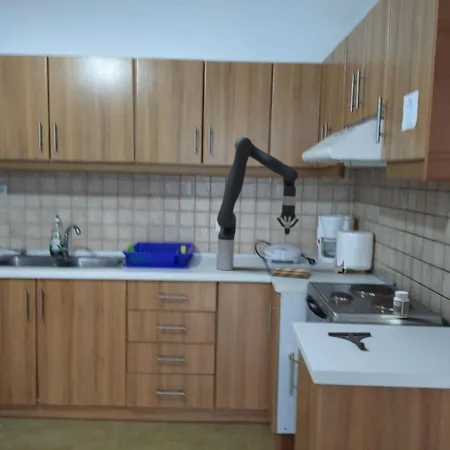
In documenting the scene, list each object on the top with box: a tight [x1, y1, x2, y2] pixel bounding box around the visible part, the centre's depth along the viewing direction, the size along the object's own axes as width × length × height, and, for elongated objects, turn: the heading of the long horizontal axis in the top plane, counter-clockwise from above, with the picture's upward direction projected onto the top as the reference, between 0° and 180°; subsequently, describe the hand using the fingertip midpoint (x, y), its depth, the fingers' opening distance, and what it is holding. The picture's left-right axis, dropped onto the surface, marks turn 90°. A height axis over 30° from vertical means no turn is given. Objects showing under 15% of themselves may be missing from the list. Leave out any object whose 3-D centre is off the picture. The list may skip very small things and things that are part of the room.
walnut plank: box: [271, 269, 309, 280], centre depth 262 cm, size 18×7×2 cm, turn 73°
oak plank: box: [275, 266, 311, 276], centre depth 270 cm, size 18×7×2 cm, turn 73°
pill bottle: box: [392, 290, 410, 316], centre depth 189 cm, size 6×6×10 cm
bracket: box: [327, 331, 372, 351], centre depth 160 cm, size 14×15×3 cm
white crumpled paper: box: [328, 255, 348, 274], centre depth 282 cm, size 17×5×10 cm, turn 4°
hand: (287, 234), depth 277 cm, fingers closed
